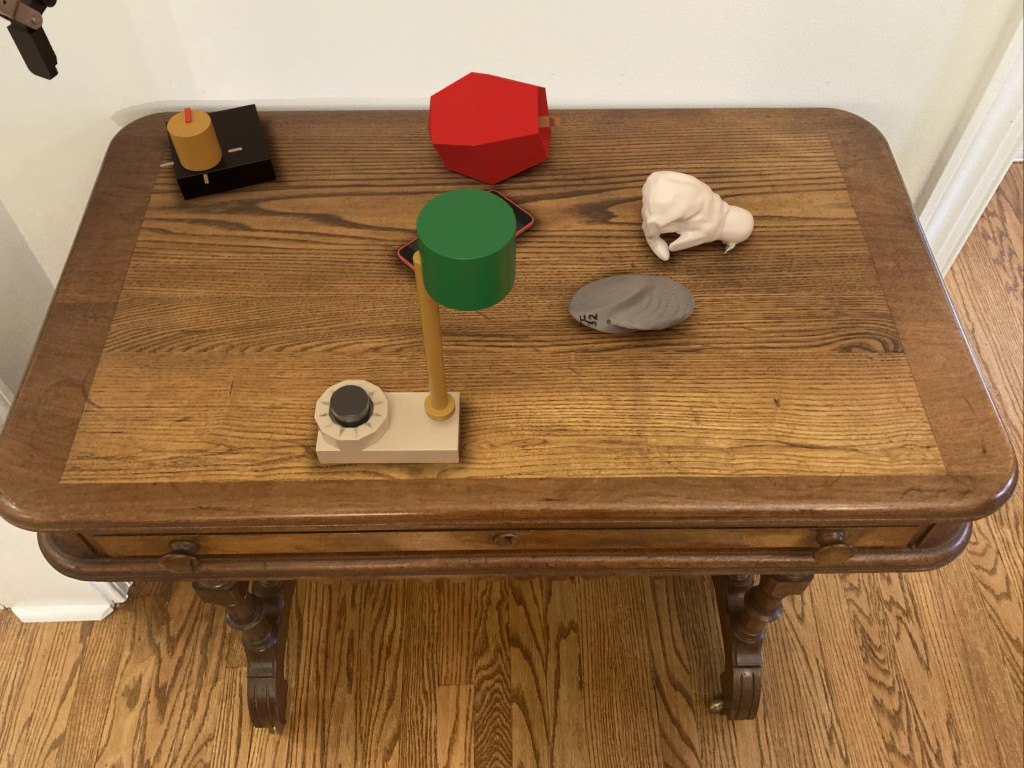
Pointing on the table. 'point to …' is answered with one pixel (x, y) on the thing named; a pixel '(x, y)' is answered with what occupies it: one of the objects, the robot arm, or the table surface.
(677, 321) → the seashell
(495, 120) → the apple
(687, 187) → the cream figurine
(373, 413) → the lamp base
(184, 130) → the dimmer knob
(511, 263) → the lamp
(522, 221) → the smartphone
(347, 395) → the lamp switch
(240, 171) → the panel
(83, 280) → the table surface
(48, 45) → the robot arm
